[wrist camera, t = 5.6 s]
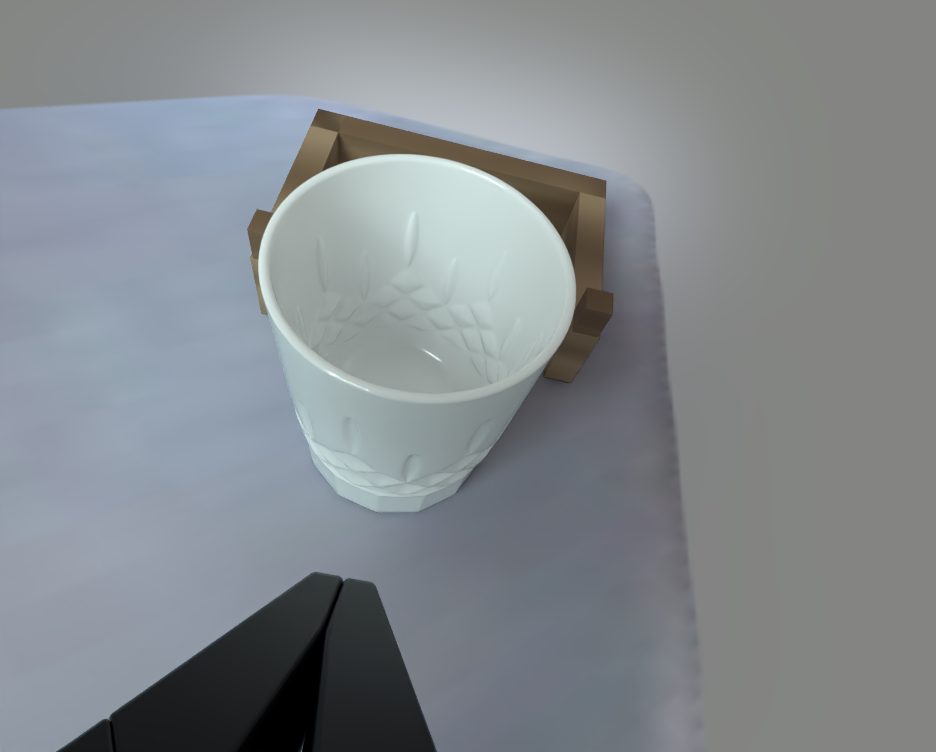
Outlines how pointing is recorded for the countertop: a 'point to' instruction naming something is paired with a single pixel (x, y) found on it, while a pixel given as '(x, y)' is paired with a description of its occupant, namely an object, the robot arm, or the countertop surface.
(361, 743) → the robot arm
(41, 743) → the countertop surface
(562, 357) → the rack
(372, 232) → the white cup
